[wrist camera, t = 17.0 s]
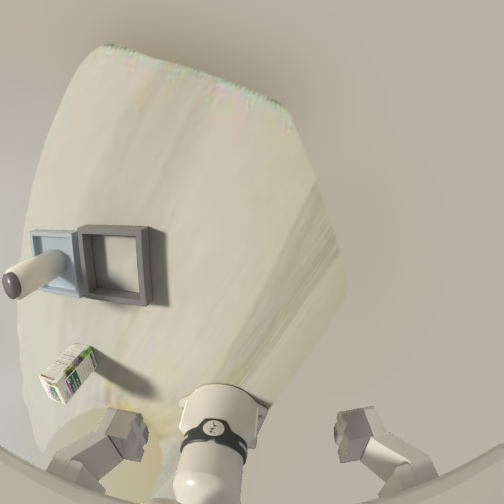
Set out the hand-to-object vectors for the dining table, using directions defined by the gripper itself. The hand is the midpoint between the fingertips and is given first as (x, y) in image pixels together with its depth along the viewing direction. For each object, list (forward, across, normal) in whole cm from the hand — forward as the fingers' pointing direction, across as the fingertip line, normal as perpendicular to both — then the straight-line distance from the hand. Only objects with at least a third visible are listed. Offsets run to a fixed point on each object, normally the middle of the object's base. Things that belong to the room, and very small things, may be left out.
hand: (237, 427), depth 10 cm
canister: (+36, +38, +4) cm, 53 cm away
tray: (+37, +38, +4) cm, 54 cm away
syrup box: (+37, +38, +26) cm, 59 cm away
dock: (+36, +23, +4) cm, 43 cm away
